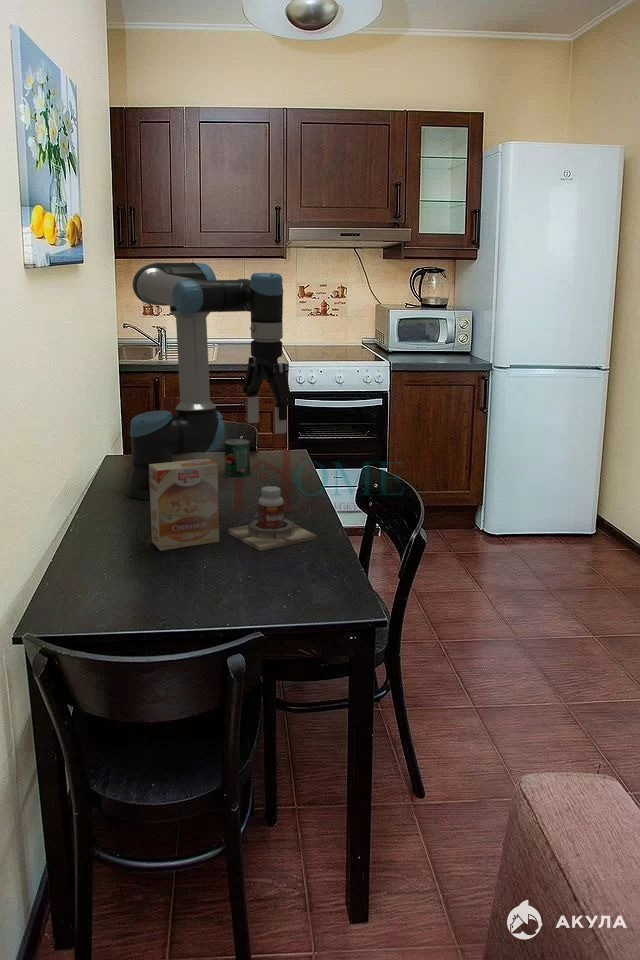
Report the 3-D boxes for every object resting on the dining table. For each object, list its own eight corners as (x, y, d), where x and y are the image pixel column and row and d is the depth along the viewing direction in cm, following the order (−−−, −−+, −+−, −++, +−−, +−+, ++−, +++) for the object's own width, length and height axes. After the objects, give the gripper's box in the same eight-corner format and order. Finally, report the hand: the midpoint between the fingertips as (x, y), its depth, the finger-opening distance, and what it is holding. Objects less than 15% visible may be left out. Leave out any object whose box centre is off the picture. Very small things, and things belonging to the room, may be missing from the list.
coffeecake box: (160, 551, 197) (156, 470, 192) (151, 542, 203) (147, 463, 198) (220, 542, 204) (218, 463, 199) (210, 533, 210) (208, 457, 205)
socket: (227, 532, 210) (227, 521, 210) (282, 522, 219) (282, 511, 218) (259, 551, 197) (259, 538, 197) (316, 539, 206) (316, 527, 205)
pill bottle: (266, 537, 204) (266, 493, 201) (253, 530, 209) (253, 487, 206) (288, 533, 207) (288, 489, 204) (275, 526, 212) (275, 484, 209)
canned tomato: (255, 474, 267) (254, 440, 264) (240, 480, 260) (239, 445, 257) (235, 471, 271) (234, 437, 268) (219, 476, 264) (219, 442, 261)
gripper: (228, 335, 209) (229, 419, 214) (279, 346, 189) (279, 439, 194) (255, 334, 213) (255, 417, 218) (308, 345, 193) (306, 436, 198)
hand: (266, 427), depth 206 cm, fingers open, 13 cm apart
